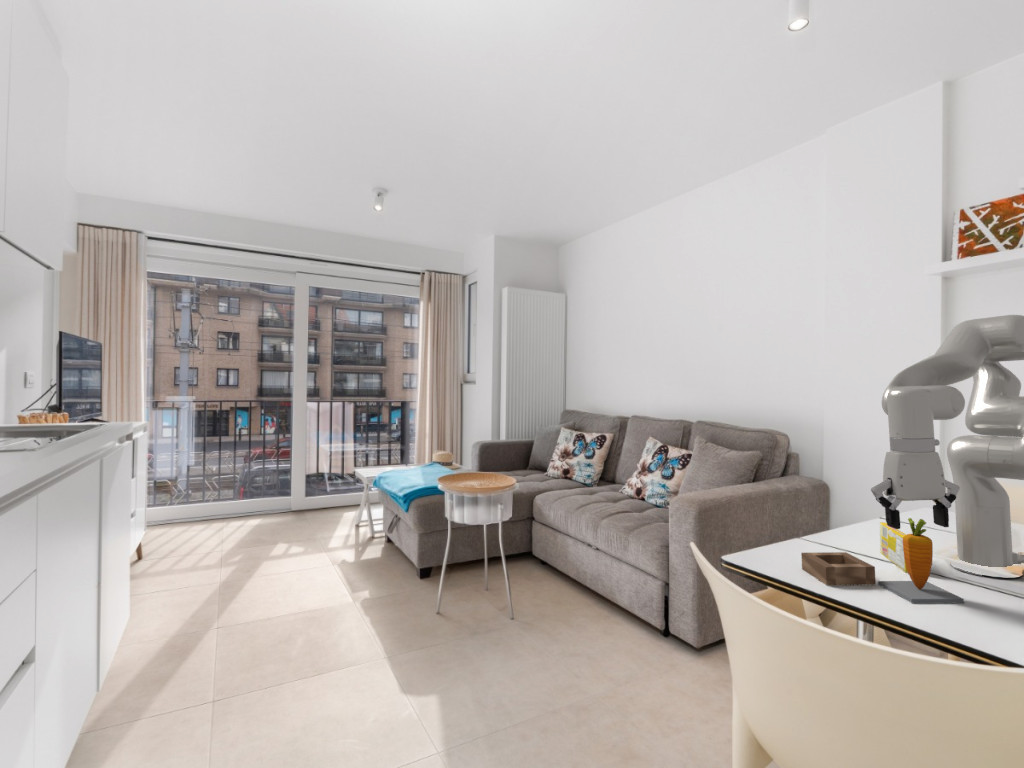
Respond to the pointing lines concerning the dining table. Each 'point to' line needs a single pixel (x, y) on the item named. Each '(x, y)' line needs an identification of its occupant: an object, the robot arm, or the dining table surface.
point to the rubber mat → (920, 592)
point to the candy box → (892, 545)
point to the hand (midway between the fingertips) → (917, 526)
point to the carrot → (918, 554)
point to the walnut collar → (838, 568)
